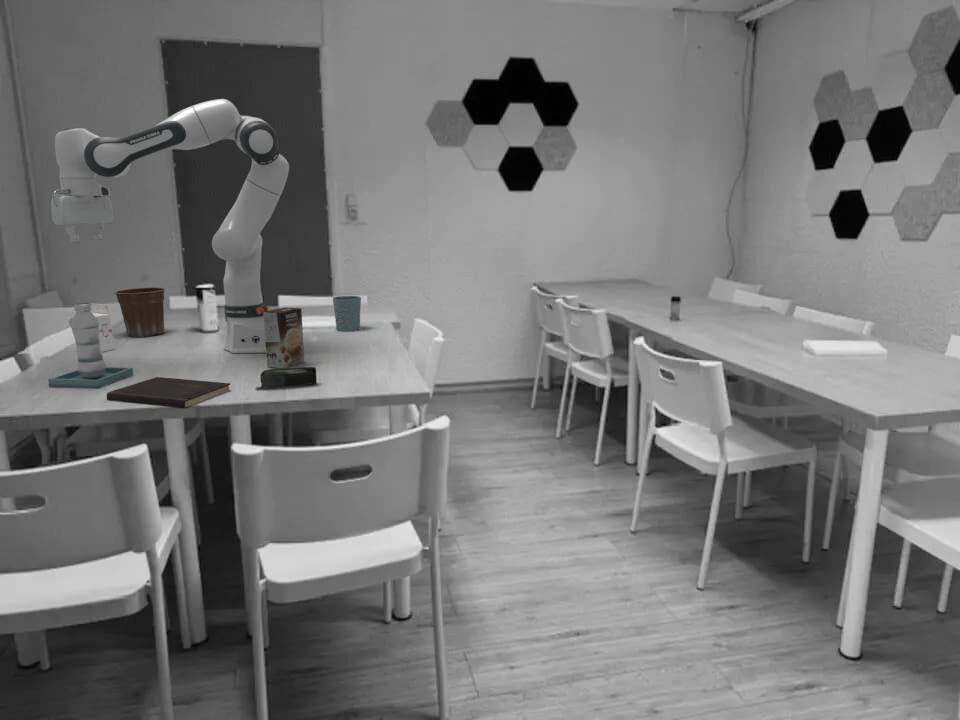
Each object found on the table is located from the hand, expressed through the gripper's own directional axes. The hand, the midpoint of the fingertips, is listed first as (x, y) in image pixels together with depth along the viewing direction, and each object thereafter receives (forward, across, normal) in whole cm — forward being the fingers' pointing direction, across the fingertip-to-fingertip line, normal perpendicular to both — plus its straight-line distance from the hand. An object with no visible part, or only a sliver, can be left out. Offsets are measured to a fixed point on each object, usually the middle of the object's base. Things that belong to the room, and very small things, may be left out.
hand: (87, 240), depth 190 cm
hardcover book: (+37, -29, -38) cm, 60 cm away
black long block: (+37, -19, -63) cm, 76 cm away
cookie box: (+36, +5, -53) cm, 65 cm away
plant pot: (+36, +47, +18) cm, 62 cm away
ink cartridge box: (+36, +20, +16) cm, 44 cm away
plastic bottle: (+35, -17, -9) cm, 40 cm away
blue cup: (+37, +62, -53) cm, 89 cm away
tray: (+36, -18, -9) cm, 41 cm away
